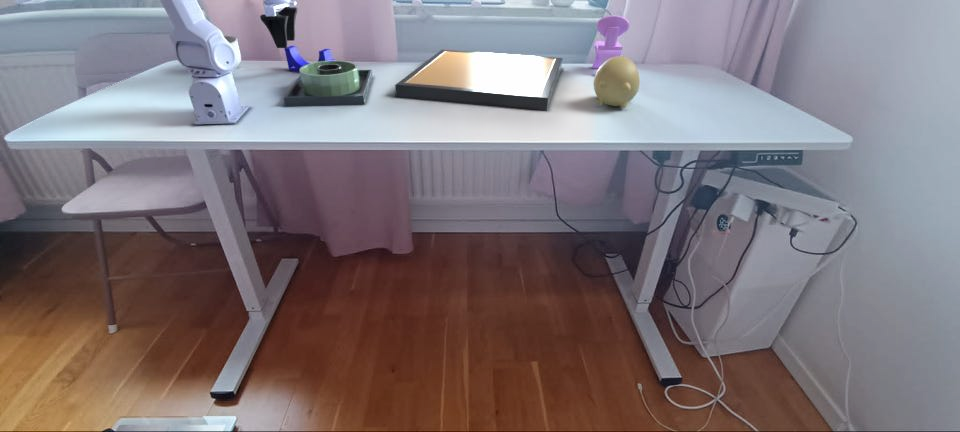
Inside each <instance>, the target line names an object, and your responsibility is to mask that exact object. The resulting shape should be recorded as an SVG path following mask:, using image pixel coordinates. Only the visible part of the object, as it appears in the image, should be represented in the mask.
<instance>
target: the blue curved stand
mask: <svg viewBox="0 0 960 432" xmlns="http://www.w3.org/2000/svg"><path fill="white" fill-rule="evenodd" d="M283 49H284V53H285V57H286V63H287V66H288V71H289V72H294V73H295V72H296V73H300V71H299V69H300V68H301V67H302V66H304V65H307V64H310V62H308V61H306V60H305V59H304V58H303V57H302V56H301V54H300V53H299V50H298V48H297V46H296V45H289V46H287V48H283ZM335 60H336V59H334V58H332V51H331V48H324V49H321V50H318V60H317V62H320V61H335Z"/></svg>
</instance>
